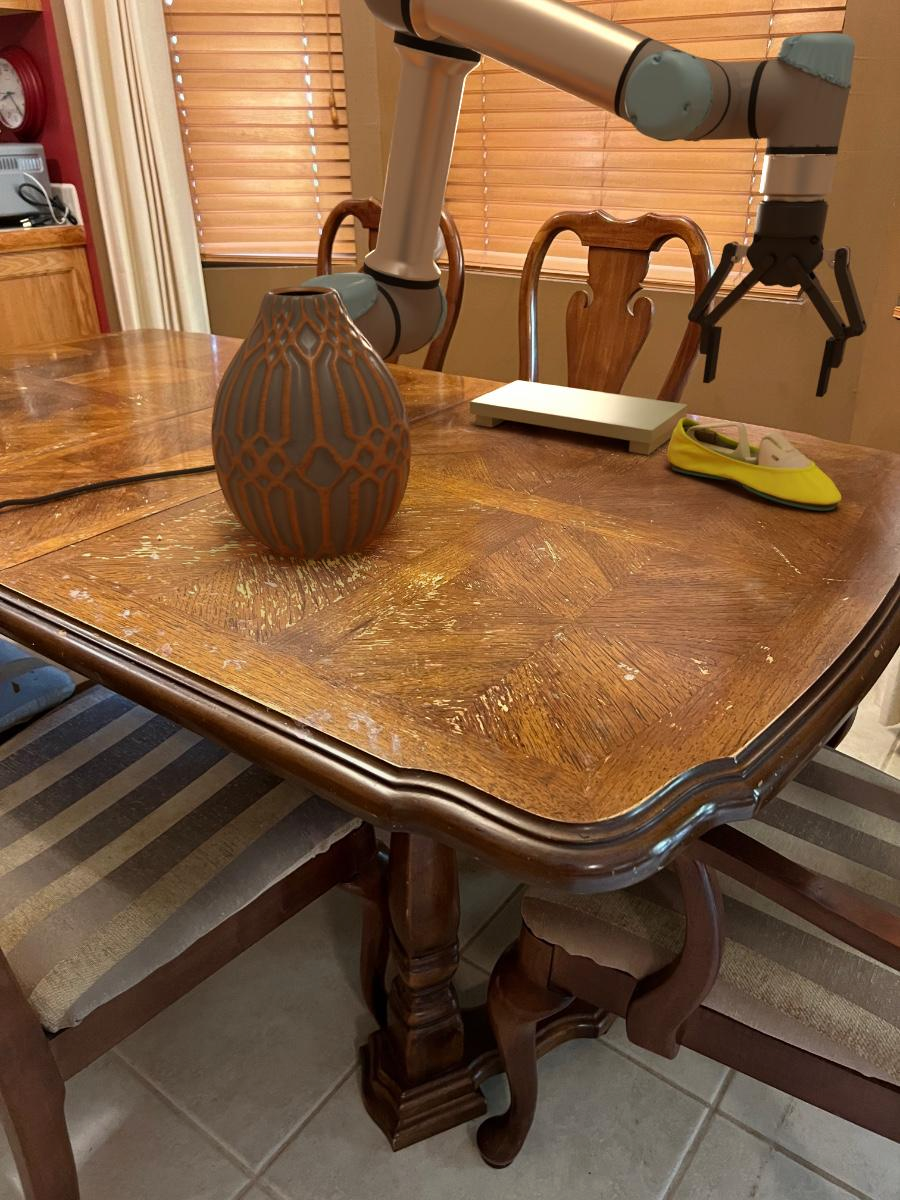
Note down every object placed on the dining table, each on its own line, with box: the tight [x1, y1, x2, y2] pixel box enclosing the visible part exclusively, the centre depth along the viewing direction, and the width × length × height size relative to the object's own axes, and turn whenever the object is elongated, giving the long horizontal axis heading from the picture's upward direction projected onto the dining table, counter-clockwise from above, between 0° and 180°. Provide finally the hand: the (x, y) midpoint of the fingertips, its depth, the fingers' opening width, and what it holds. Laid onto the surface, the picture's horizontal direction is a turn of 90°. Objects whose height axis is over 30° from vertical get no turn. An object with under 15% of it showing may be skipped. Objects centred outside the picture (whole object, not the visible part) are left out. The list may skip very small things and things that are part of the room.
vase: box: [210, 285, 412, 561], centre depth 92 cm, size 21×21×27 cm
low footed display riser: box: [469, 379, 689, 456], centre depth 135 cm, size 16×30×4 cm, turn 58°
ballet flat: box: [666, 417, 842, 512], centre depth 111 cm, size 8×24×8 cm, turn 42°
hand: (763, 387), depth 106 cm, fingers open, 13 cm apart
